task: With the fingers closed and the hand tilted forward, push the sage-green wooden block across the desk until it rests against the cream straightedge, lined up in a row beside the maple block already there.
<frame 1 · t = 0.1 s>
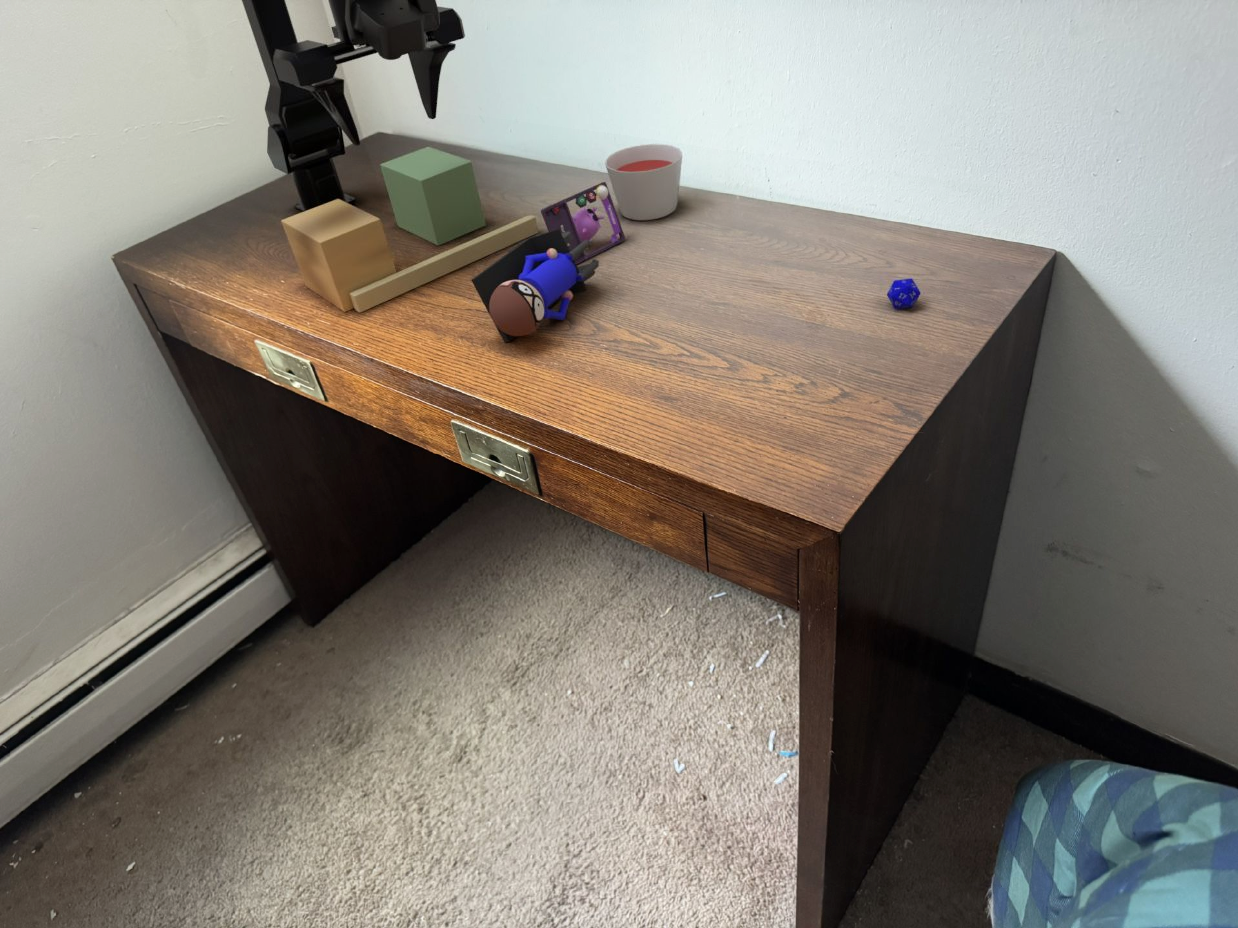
hand: (395, 131, 92), 15 cm above the table, tool pointing down, fingers open, 9 cm apart
candle: (649, 211, 105), on the table
game card: (582, 252, 98), on the table
die: (902, 307, 80), on the table
maple block: (352, 287, 98), on the table
straightedge: (451, 269, 98), on the table
green block: (441, 226, 109), on the table
character figurine: (546, 318, 87), on the table
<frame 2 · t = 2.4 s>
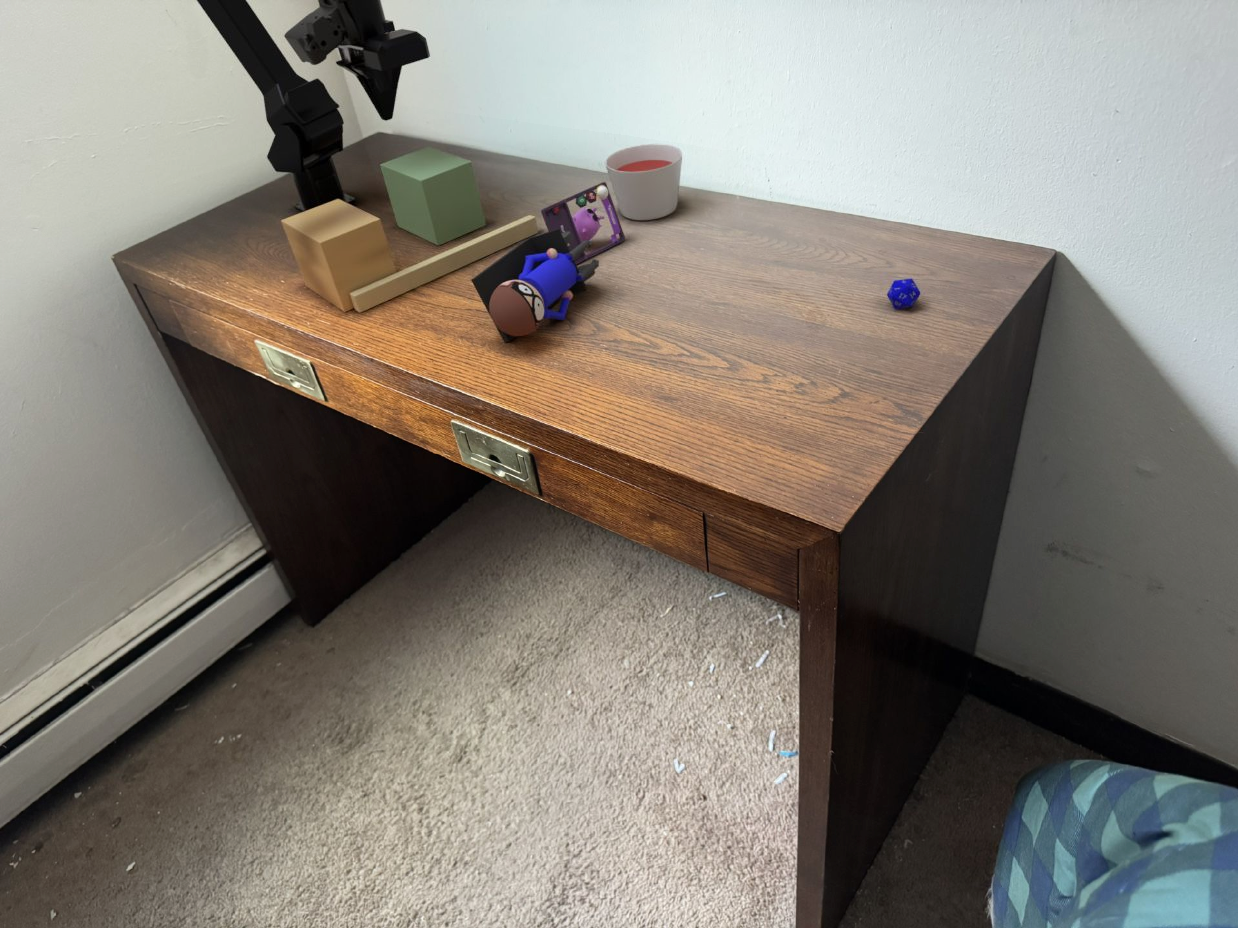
hand: (387, 119, 106), 12 cm above the table, tool pointing down, fingers closed
nothing on the table moved.
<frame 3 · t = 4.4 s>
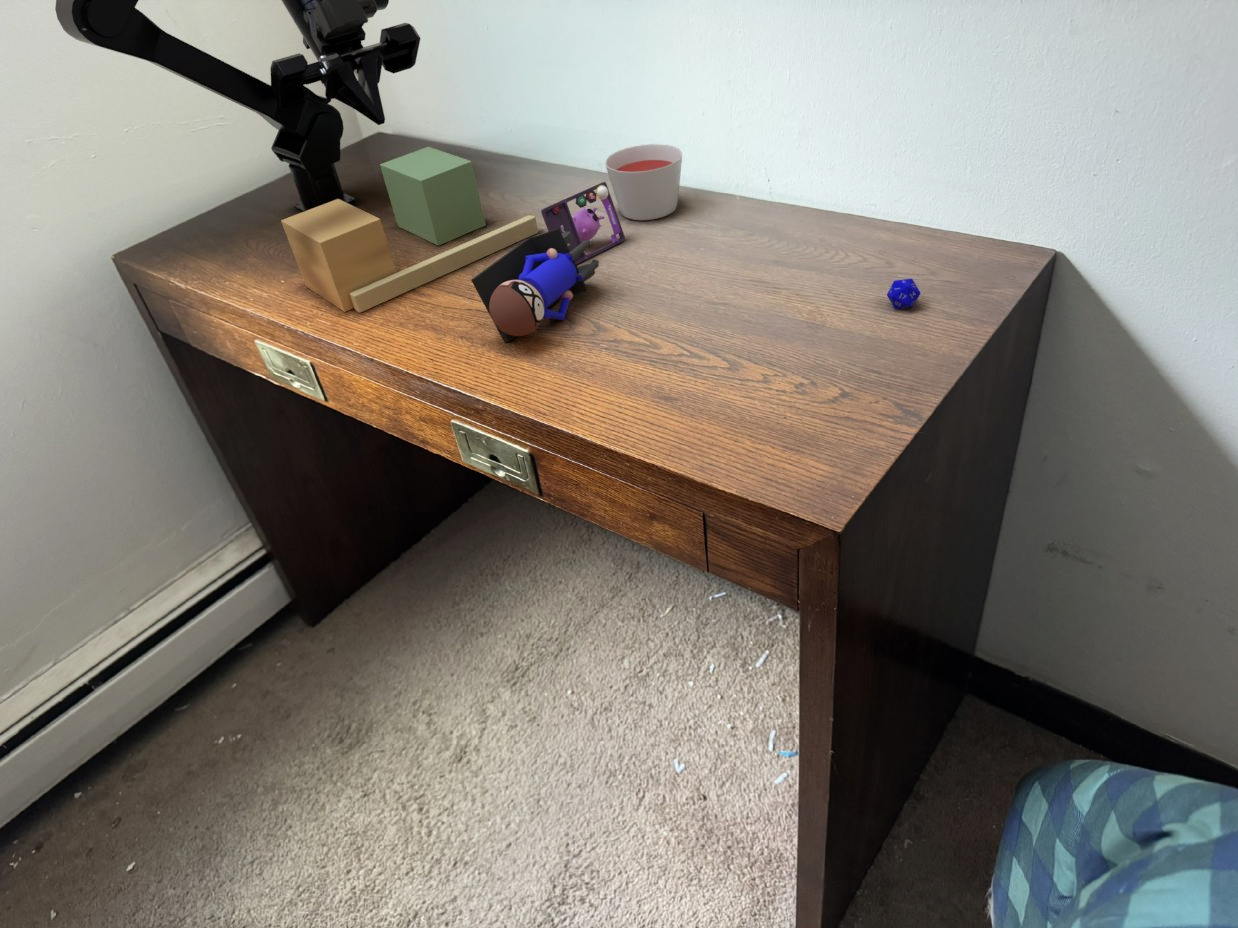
hand: (382, 122, 107), 11 cm above the table, tool tilted 45°, fingers closed
nothing on the table moved.
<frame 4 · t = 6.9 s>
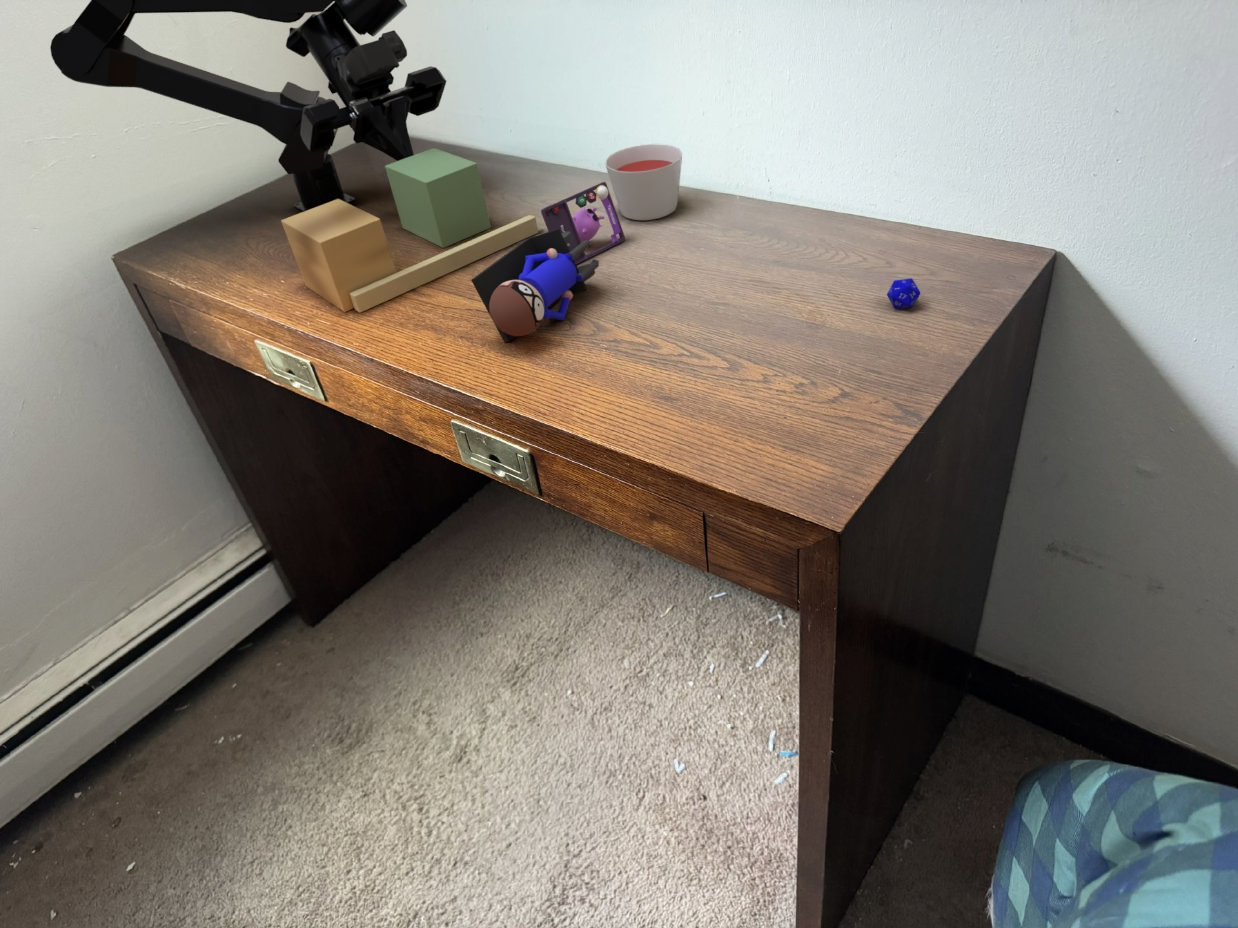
hand: (412, 165, 107), 7 cm above the table, tool tilted 45°, fingers closed, pressing on green block
green block: (446, 228, 108), on the table, touching gripper
everything else where it was.
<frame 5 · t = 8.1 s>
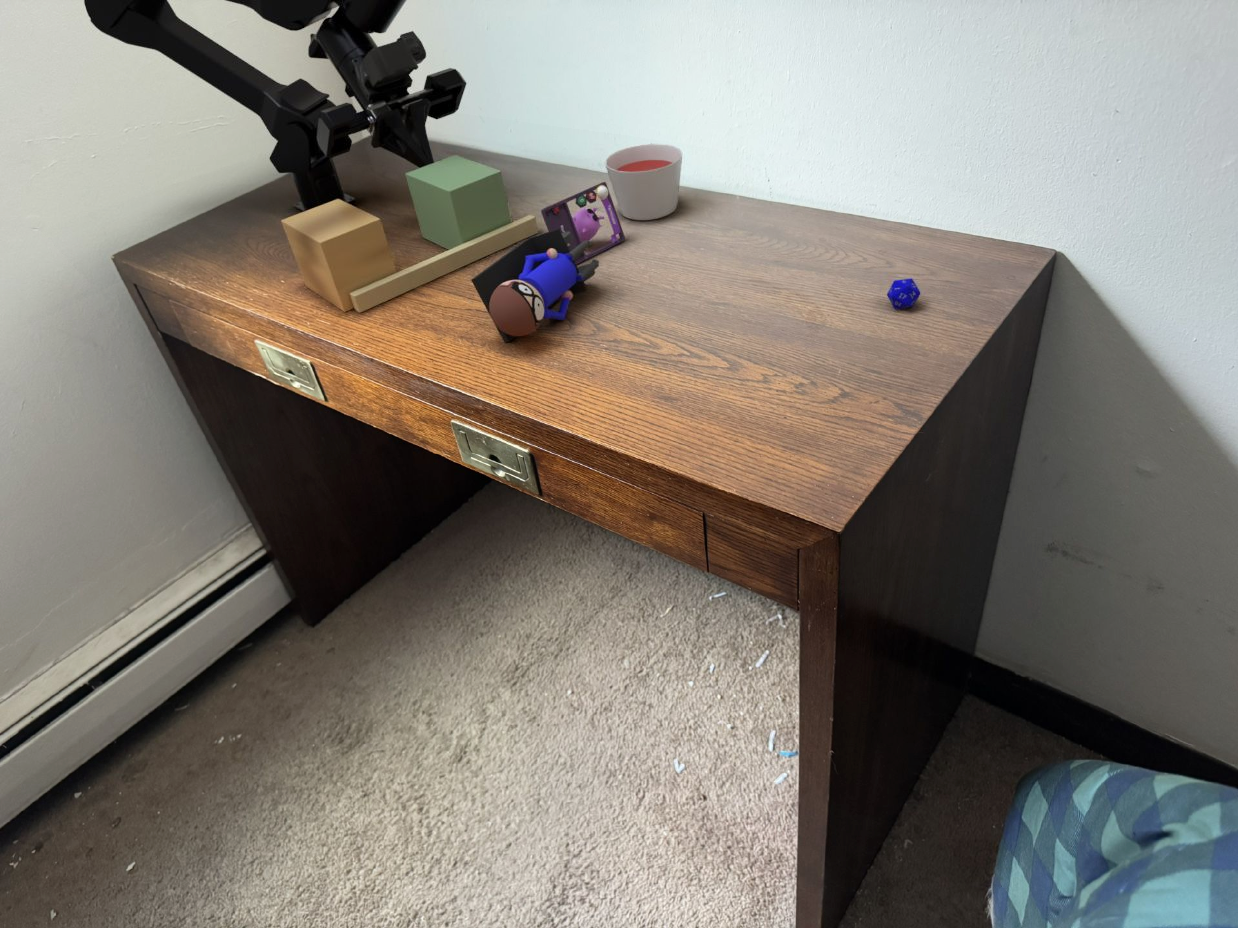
hand: (431, 170, 104), 7 cm above the table, tool tilted 45°, fingers closed, pressing on green block
green block: (468, 237, 105), on the table, touching gripper
everything else where it was.
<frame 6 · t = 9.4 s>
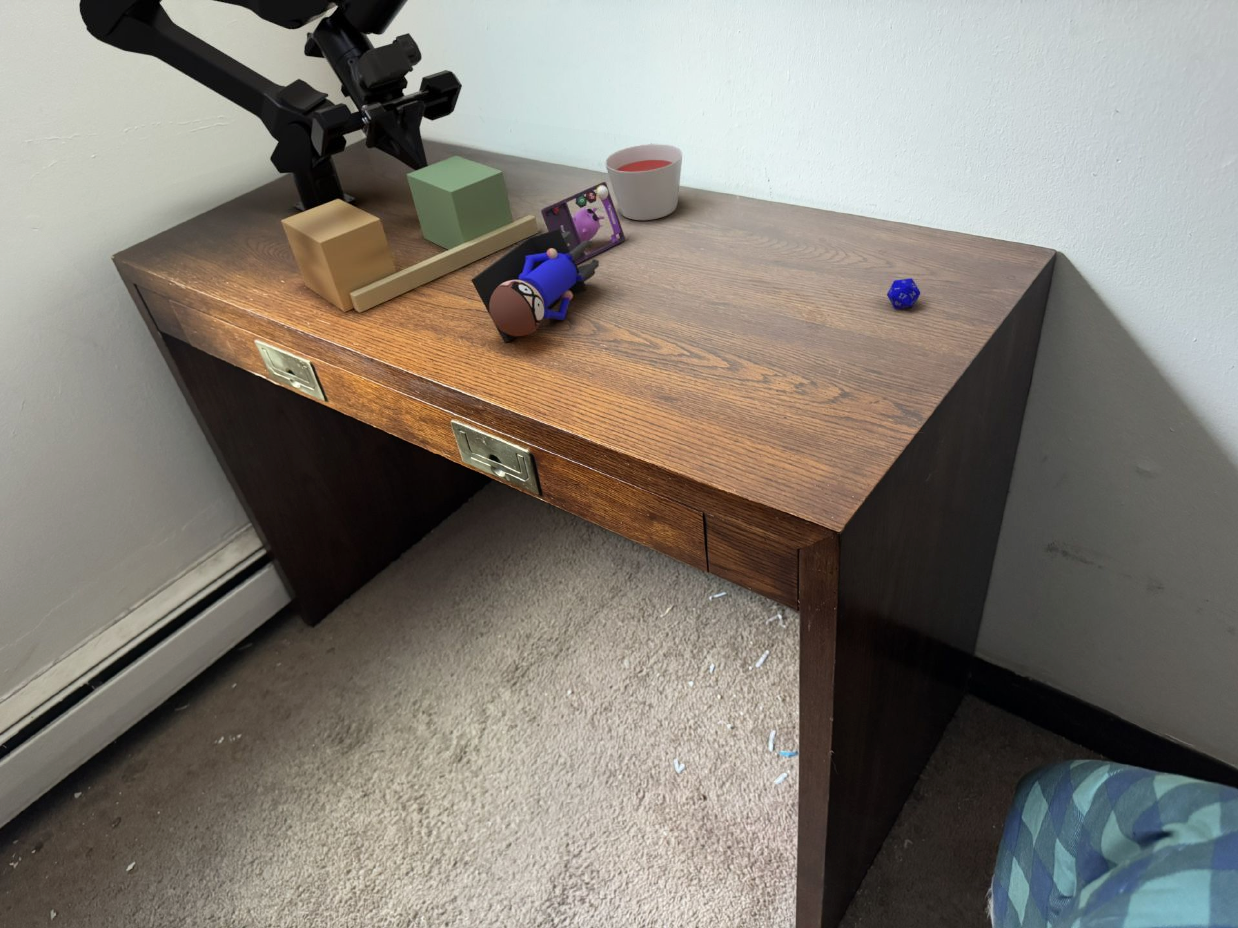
hand: (425, 171, 104), 7 cm above the table, tool tilted 45°, fingers closed
green block: (469, 238, 105), on the table, touching straightedge
everything else where it was.
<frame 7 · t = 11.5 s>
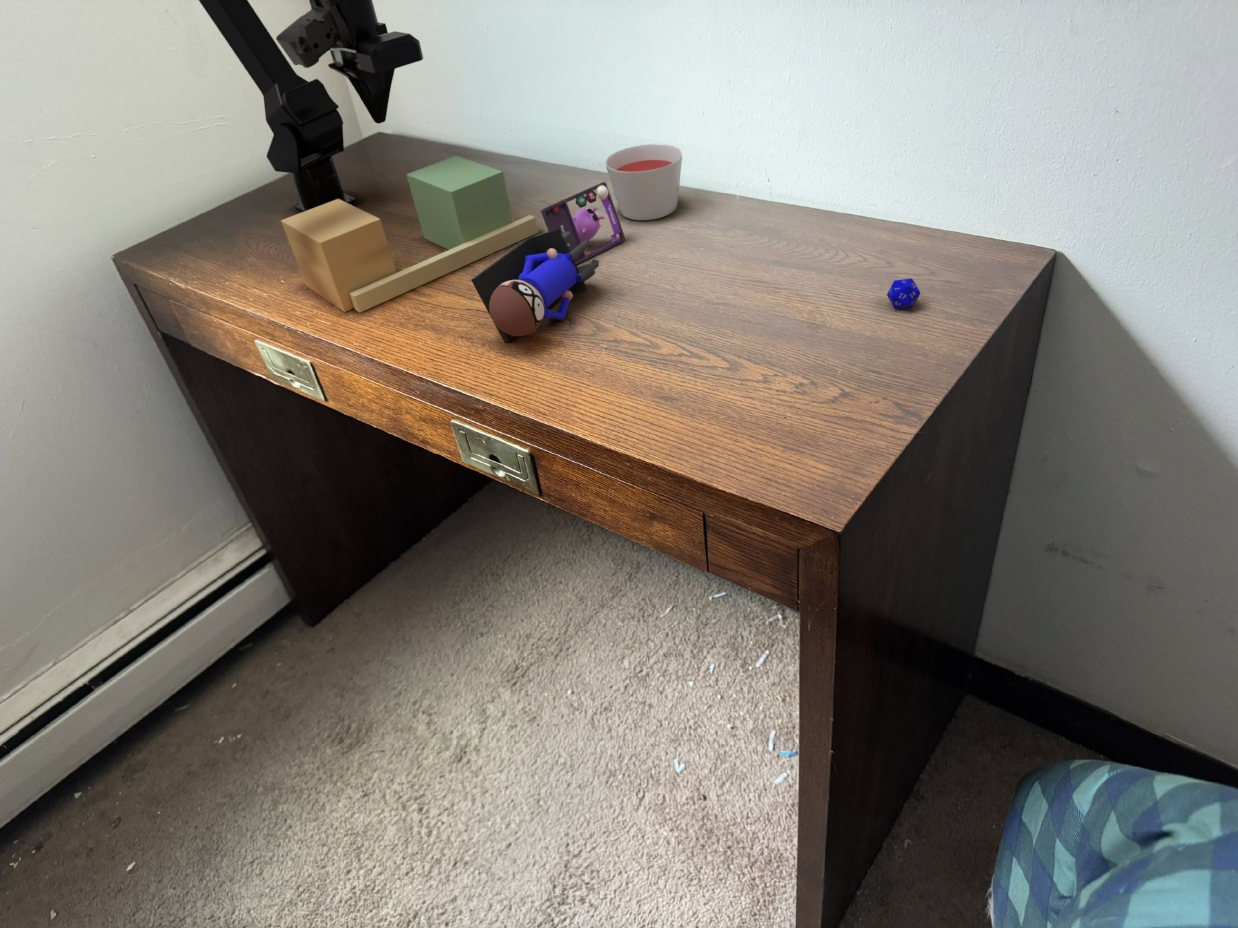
hand: (380, 122, 105), 12 cm above the table, tool pointing down, fingers closed
nothing on the table moved.
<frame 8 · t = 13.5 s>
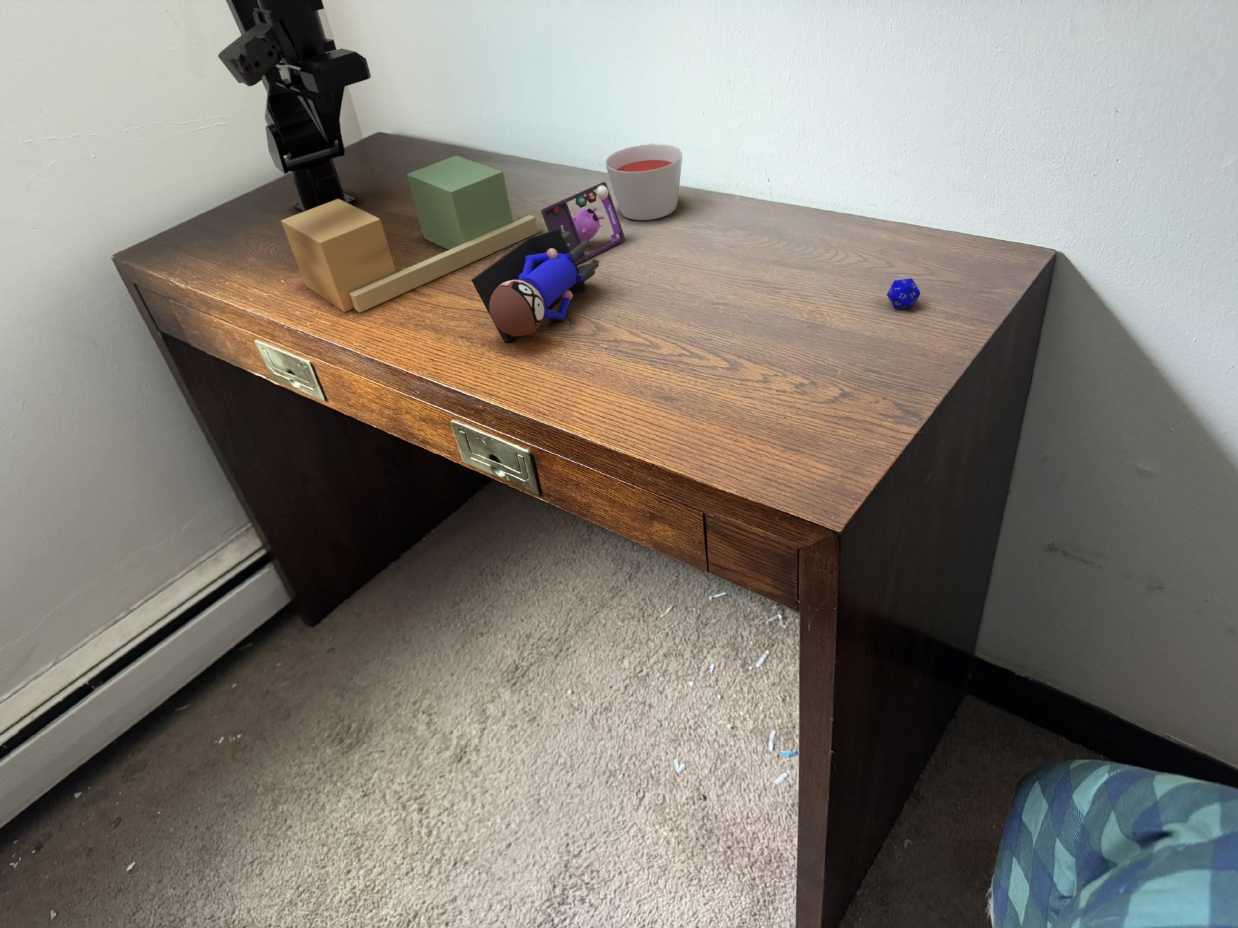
hand: (331, 141, 101), 12 cm above the table, tool pointing down, fingers closed
nothing on the table moved.
at the end: green block 0.5 cm from the target spot on the table beside the maple block, on the table; green block tilted 0°; maple block moved 0.0 cm from its start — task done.
